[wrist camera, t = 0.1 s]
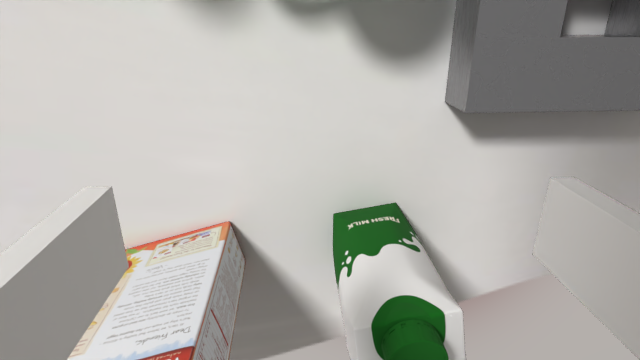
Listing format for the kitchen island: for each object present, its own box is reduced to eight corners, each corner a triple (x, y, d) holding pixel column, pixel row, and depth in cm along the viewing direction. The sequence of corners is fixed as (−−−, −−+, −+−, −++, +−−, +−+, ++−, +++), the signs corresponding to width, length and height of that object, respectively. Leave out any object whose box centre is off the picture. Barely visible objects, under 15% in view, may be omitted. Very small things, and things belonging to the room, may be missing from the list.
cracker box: (132, 294, 46) (14, 496, 26) (109, 251, 44) (-40, 437, 24) (249, 264, 45) (216, 447, 26) (231, 218, 43) (180, 382, 24)
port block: (470, -117, 33) (502, -142, 28) (721, -113, 34) (795, -135, 29) (444, 101, 40) (466, 113, 35) (655, 99, 41) (706, 110, 36)
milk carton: (403, 193, 43) (486, 324, 25) (409, 262, 46) (487, 424, 28) (323, 207, 43) (345, 348, 25) (335, 275, 46) (363, 445, 28)
